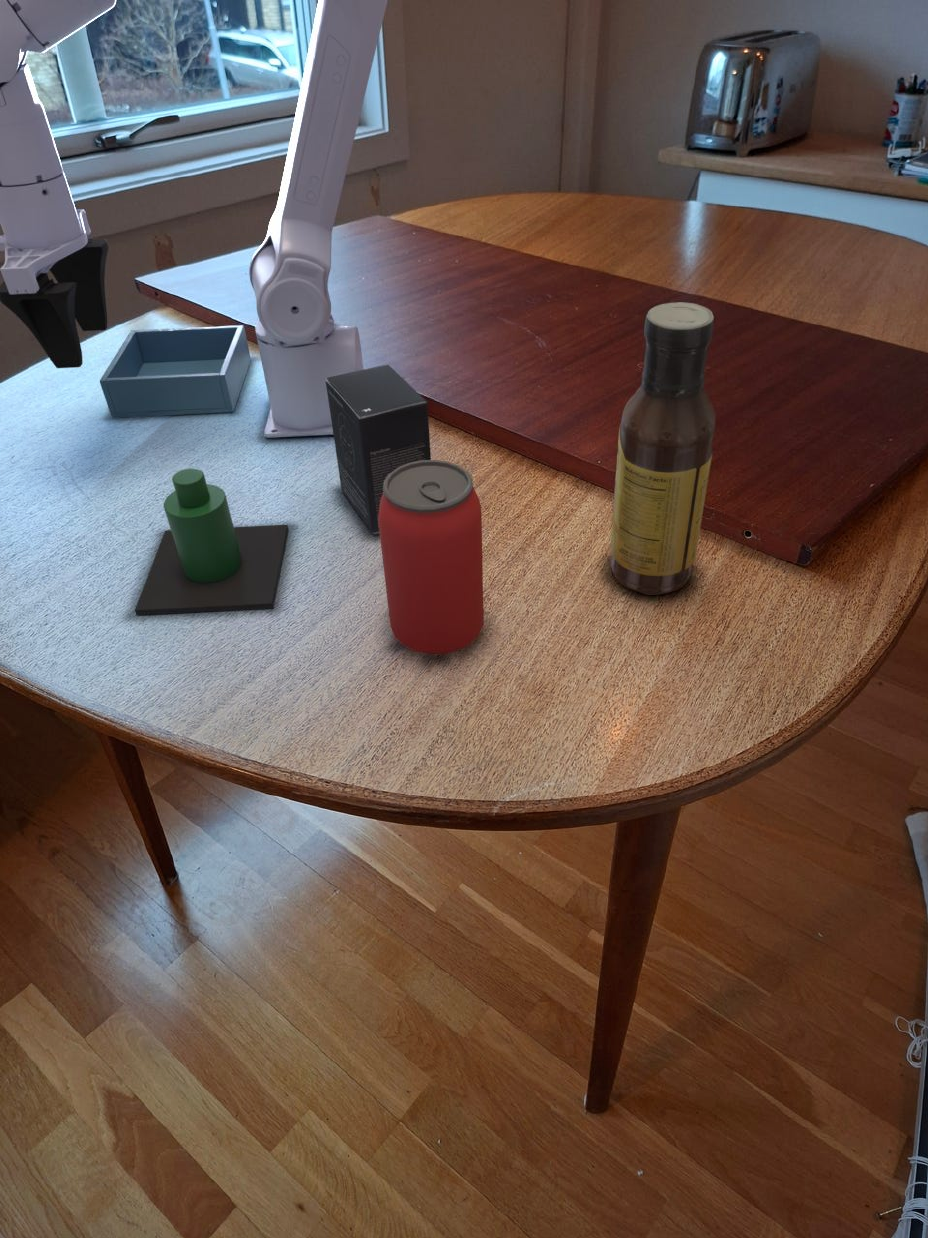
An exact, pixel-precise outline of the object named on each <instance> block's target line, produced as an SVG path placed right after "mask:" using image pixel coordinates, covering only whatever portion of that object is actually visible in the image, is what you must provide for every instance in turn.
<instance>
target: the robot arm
mask: <svg viewBox="0 0 928 1238" xmlns="http://www.w3.org/2000/svg"><path fill="white" fill-rule="evenodd" d="M388 1H389V0H318V3H317V7H316V12H315V17H314V22H313V26H312V32H311V36H310V42H309V46H308V50H307V51H308V52H307V55H306V62H305V67H304V72H303V75H302V76H303V77H302V82H301V87H300V90H299V96H298V102H297V107H296V111H295V116H294V121H293V126H292V131H291V135H290V140H289V145H288V150H287V155H286V160H285V166H284V171H283V175H282V179H281V185H280V191H279V196H278V200H277V204H276V208H275V210H274V212H273V214H272V216H271V218H270V221H269V224H268V229H267V233H266V237H265V239H264V241H263V242H262V244H261V245H260V246H259V248H258V249H257V250H256V251H255V252H254V254H253V256H252V257H251V261H250V262H249V269H248V272H249V281H250V284H251V288H252V289H253V292H254V295H255V300H256V301H255V302H256V313H257V317H258V321H257V323H256V325H255V327H254V331H255V335H256V341H257V347H258V352H259V356H260V361H261V366H262V372H263V377H264V381H265V386H266V392H267V397H268V402H269V406H270V407H269V412H268V416H267V420H266V424H265V427H264V430H263V433H264V434H263V435H264V437H265V438H268V439H269V438H290V437H291V438H293V437H309V436H311V437H312V436H330V435H331V436H334V435H333V428H332V421H331V415H330V408H329V401H328V394H327V388H326V382H325V380H326V378H328V377H332V376H337V375H342V374H346V373H350V372H355V371H359V370H364V363H363V354H362V353H363V352H362V346H361V338H360V333H359V328H358V327H357V326H354V325H343V324H340V323H336V322H335V319H334V317H333V315H332V303H331V302H332V301H331V297H330V294H329V286H328V284H329V278H330V273H331V269H332V238H333V236H332V235H333V230H334V225H335V221H336V216H337V212H338V209H339V205H340V200H341V196H342V192H343V188H344V183H345V179H346V175H347V171H348V167H349V163H350V159H351V154H352V151H353V146H354V143H355V142H354V141H355V138H356V134H357V129H358V125H359V121H360V117H361V112H362V108H363V104H364V100H365V96H366V92H367V88H368V84H369V81H370V80H369V79H370V75H371V71H372V67H373V62H374V59H375V55H376V50H377V47H378V43H379V37H380V34H381V33H380V32H381V30H382V26H383V21H384V18H385V13H386V9H387V5H388ZM116 4H117V0H0V227H1V230H2V232H3V234H2V235H0V252H4V263H3V265H1V267H0V274H1V276H2V278H3V282H2V283H1V284H0V303H1V304H3V306H5V307H6V308H7V309H9V310H10V311H11V312H12V313H13V314H14V315H15V316H16V317H17V318H18V319H19V320H20V321H21V322H22V323H23V324H24V325H25V326H26V327H27V328H28V330H29V331H30V332H31V334H32V335H33V337H34V338H35V339H36V340H37V342H38V343H39V346H40V347H41V348H42V349H43V351H44V352H45V354H46V355H47V357H48V358H49V360H50V361H51V362H52V364H53V366H55V368H56V369H73V368H74V369H75V368H81V367H82V366H83V363H84V362H83V350H82V345H81V341H80V337H79V332H78V328H77V324H78V326H79V327H80V328H81V330H82V332H95V331H106V330H107V329H108V311H107V300H106V290H105V289H106V288H105V286H106V285H105V274H106V273H105V272H106V264H107V256H108V252H109V244H108V241H107V239H105V238H101V237H97V238H96V237H95V238H88V236H90V234H91V233H92V231H91V227H90V224H89V221H88V218H87V214H86V211H85V209H76V207H75V203H74V200H73V197H72V193H71V190H70V187H69V184H68V181H67V178H66V175H65V172H64V168H63V166H62V162H61V159H60V155H59V152H58V150H57V146H56V143H55V140H54V136H53V134H52V129H51V127H50V124H49V120H48V117H47V114H46V111H45V107H44V105H43V103H42V102H41V100H40V98H39V96H38V93H37V90H36V87H35V83H34V80H33V77H32V74H31V70H30V68H29V65H28V63H25V61H26V58H27V56H28V52H33V53H40V54H43V53H45V52H47V51H49V49H51V48H52V49H53V47H55V46H56V45H58V44H59V43H61V42H63V41H64V40H65V39H67V38H69V37H70V36H72V35H73V34H75V33H76V32H78V31H80V30H81V29H82V28H84V27H86V26H87V25H88V24H90V23H91V22H93V21H95V20H96V19H97V18H99V17H101V16H102V15H104V14H105V13H107V12H108V11H110V10H111V9H113V8H114V7H116ZM49 271H50V273H51V274H52V276H53V277H54V278H55V280H56V282H55V280H54V278H51V279H50V278H49V275H48V272H49Z"/></svg>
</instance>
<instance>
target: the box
mask: <svg viewBox="0 0 928 1238" xmlns="http://www.w3.org/2000/svg"><path fill="white" fill-rule="evenodd" d="M325 382H326V388H327V394H328V401H329V408H330V415H331V421H332V428H333V435H332V436H333V441H334V447H335V455H336V460H337V461H336V462H337V468H338V475H339V480H340V481H339V482H340V488H341V489H340V490H341V491H342V493H343V494H344V496H345V497H346V498H347V500H348V501H349V503H350V504H351V505H352V507H353V508H354V510H355V511H356V513H357V514H358V516H359V517H360V518H361V519H362V521H363V522H364V523H365V525H366V527H367V528H368V530H370V532H371V533H372V534H373V535H377V534H380V533H379V524H378V515H379V507H380V500H381V497H382V494H383V483H384V480H385V479H386V478H387V476H388V475H389V474H390V473H391V472H393V471H394V470H395V469H397V468H398V467H400V466H403V465H405V464H408V463H411V462H416V461H421V460H432V454H431V439H430V438H431V437H430V425H429V410H428V401H427V400H426V399H425V398H424V397H423V396H422V395H421V394H420V393H419V392H418V391H417V390H416V389H414V387H412V385H410V384H409V383H408V382H407V380H405V379H404V378H403V377H402V375H400V374H399V373H398V372H397V371H396V370H395V369H394V368H393V367H392V366H391V365H390V364H389V363H388V364H383V365H379V366H374V367H370V368H363V370H359V371H355V372H350V373H346V374H342V375H337V376H332V377H328V378H326V380H325Z"/></svg>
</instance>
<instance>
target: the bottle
mask: <svg viewBox="0 0 928 1238" xmlns="http://www.w3.org/2000/svg"><path fill="white" fill-rule="evenodd" d="M171 481H172V484H173V489H174V490H173V492H171V493H170V494H169V495H167V497H166V498H165V499H164V502H163V509H164V513H165V515H166V519H167V522H168V525H169V528H170V530H171V532H172V535H173V538H174V541H175V544H176V547H177V551H178V554H179V557H180V560H181V563H182V566H183V570H184V573H185V575H186V576H187V577H188V578H189V579H191V580H193V581H196V582H200V583H212V582H217V581H221V580H224V579H226V578H228V577H230V576H232V575H233V574H234V573H236V572H237V571H238V569H239V568H240V566H241V564H242V557H241V553H240V549H239V546H238V542H237V538H236V534H235V530H234V527H235V526H234V522H233V518H232V515H231V511H230V507H229V503H228V500H227V495H226V492H225V491H224V490H223V488H221V487H220V486H218V485H215V484H210V483H207V480H206V477H205V473H204V471H203V470H201V469H199V468H195V467H190V468H184V469H180V470H179V471H177V472H176V473H174V474H173V476H172V478H171Z"/></svg>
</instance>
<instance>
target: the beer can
mask: <svg viewBox="0 0 928 1238" xmlns="http://www.w3.org/2000/svg"><path fill="white" fill-rule="evenodd" d="M473 481H474V479H473V476H471V474H470V473H469V471H468V470H466V469H465V468H464V467H462V466H460V465H459V464H456V463H453V462H450V461H448V460H447V461H446V460H439V459H431V460H421V461H416V462H411V463H408V464H405V465H403V466H400V467H398V468H397V469H395V470H394V471H393V472H391V473H390V474H389V475H388V476H387V478H386V479H385V480H384V483H383V494H382V497H381V500H380V507H379V515H378V524H379V533H378V534H379V541H380V551H381V558H382V567H383V574H384V583H385V590H386V591H385V592H386V601H387V609H388V617H389V626H390V630H391V632H392V635H393V636H394V638H395V639H397V641H398V642H399V643H400V644H401V645H403V647H405V648H407V649H409V650H412V651H414V652H416V653H420V654H425V655H429V656H430V655H431V656H432V655H436V656H437V655H446V654H451V653H455V652H458V651H460V650H461V649H463V648H466V647H468V646H470V645H471V644H472V642H474V641H475V640H476V639H477V638H478V637H479V635H480V633H481V631H482V629H483V627H484V623H485V620H484V617H485V616H484V573H483V570H484V569H483V566H484V565H483V518H482V517H483V516H482V504H481V501H480V498H479V496H478V494H477V492H476V490H475V488H474V483H473Z"/></svg>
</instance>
